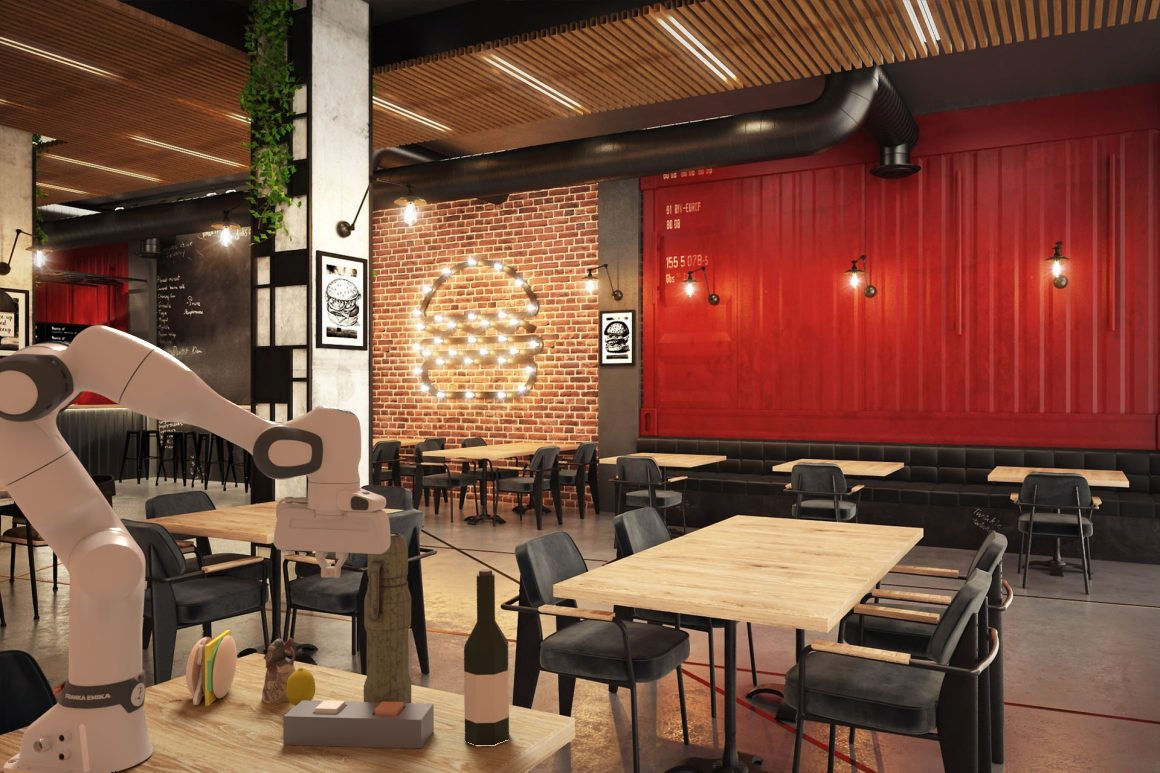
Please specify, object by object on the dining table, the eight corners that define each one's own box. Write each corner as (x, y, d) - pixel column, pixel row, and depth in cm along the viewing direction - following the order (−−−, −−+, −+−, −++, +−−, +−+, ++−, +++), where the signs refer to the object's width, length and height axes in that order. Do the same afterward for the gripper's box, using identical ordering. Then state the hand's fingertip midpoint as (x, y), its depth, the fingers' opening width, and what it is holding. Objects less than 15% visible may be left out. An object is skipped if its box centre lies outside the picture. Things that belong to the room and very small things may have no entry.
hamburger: (202, 686, 184) (202, 630, 185) (241, 685, 185) (241, 629, 185) (178, 706, 172) (177, 646, 173) (220, 705, 173) (220, 645, 173)
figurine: (267, 692, 180) (266, 634, 180) (302, 690, 181) (301, 633, 181) (258, 704, 173) (257, 644, 173) (294, 702, 174) (293, 642, 174)
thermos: (420, 707, 170) (420, 530, 170) (399, 730, 158) (399, 540, 159) (376, 705, 171) (377, 529, 172) (353, 728, 160) (353, 538, 160)
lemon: (319, 704, 173) (319, 663, 173) (308, 714, 167) (308, 672, 167) (293, 703, 173) (293, 663, 174) (281, 713, 168) (281, 672, 168)
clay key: (374, 729, 153) (374, 709, 153) (382, 720, 157) (382, 701, 157) (396, 729, 153) (396, 709, 153) (403, 721, 157) (403, 702, 157)
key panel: (283, 744, 153) (283, 716, 153) (302, 727, 160) (302, 700, 161) (421, 748, 150) (421, 719, 150) (433, 731, 158) (433, 703, 158)
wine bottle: (498, 750, 149) (496, 576, 150) (455, 744, 152) (453, 573, 152) (518, 732, 157) (516, 567, 157) (477, 727, 160) (475, 564, 160)
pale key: (315, 728, 154) (315, 708, 154) (324, 719, 158) (323, 700, 158) (336, 728, 154) (336, 708, 154) (345, 720, 158) (345, 701, 158)
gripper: (268, 497, 150) (265, 577, 149) (383, 502, 148) (380, 583, 147) (284, 494, 156) (281, 571, 156) (394, 498, 154) (392, 576, 154)
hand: (330, 577), depth 151 cm, fingers closed
